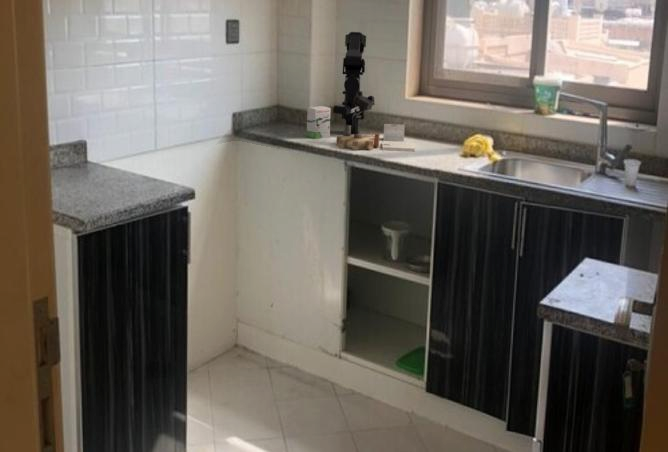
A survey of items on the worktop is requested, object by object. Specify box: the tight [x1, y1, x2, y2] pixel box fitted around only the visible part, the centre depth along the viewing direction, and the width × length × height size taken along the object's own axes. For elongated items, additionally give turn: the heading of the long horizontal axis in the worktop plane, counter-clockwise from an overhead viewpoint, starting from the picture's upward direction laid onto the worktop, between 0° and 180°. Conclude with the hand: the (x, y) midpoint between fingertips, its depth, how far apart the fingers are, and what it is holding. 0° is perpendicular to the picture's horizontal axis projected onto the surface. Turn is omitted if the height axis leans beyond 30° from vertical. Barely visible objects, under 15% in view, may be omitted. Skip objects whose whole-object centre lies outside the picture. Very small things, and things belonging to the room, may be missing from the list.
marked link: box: [382, 123, 405, 142], centre depth 336 cm, size 4×8×6 cm, turn 87°
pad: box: [381, 140, 416, 152], centre depth 322 cm, size 11×12×1 cm
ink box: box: [306, 105, 331, 140], centre depth 335 cm, size 9×5×12 cm, turn 134°
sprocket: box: [335, 124, 380, 151], centre depth 321 cm, size 16×16×7 cm
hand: (351, 129), depth 325 cm, fingers closed
